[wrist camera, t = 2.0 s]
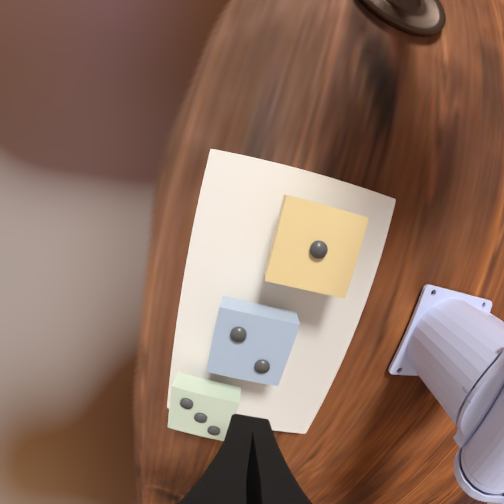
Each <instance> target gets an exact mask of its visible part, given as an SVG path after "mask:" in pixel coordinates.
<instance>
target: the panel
mask: <svg viewBox="0 0 504 504" xmlns="http://www.w3.org/2000/svg"><path fill="white" fill-rule="evenodd" d="M283 195H290V196H293V197H297V198H301V199H305V200H309V201H312V202H316V203H320V204H323V205H327V206H330V207H334V208H337V209H341V210H344V211H348V212H351V213H354V214H358V215H361V216H364V217H368V218H369V220H368V224H367V227H366V231H365V235H364V238H363V242H362V246H361V249H360V252H359V256H358V259H357V263H356V266H355V269H354V272H353V275H352V279H351V282H350V285H349V288H348V291H347V294H346V297H345V298H341V297H336V296H331V295H326V294H322V293H317V292H312V291H308V290H303V289H299V288H294V287H290V286H285V285H281V284H276V283H272V282H268V281H265V276H264V271H265V267H266V263H267V259H268V255H269V251H270V248H271V244H272V240H273V236H274V232H275V228H276V224H277V220H278V216H279V211H280V207H281V203H282V199H283ZM395 202H396V199H394V198H391V197H388V196H385V195H383V194H380V193H377V192H374V191H371V190H368V189H365V188H362V187H359V186H356V185H353V184H350V183H346V182H343V181H340V180H337V179H333V178H330V177H327V176H323V175H320V174H316V173H313V172H309V171H305V170H302V169H298V168H294V167H290V166H286V165H283V164H279V163H274V162H270V161H266V160H262V159H258V158H253V157H249V156H244V155H239V154H235V153H230V152H225V151H220V150H215V149H210V153H209V157H208V161H207V166H206V170H205V174H204V178H203V183H202V187H201V192H200V196H199V201H198V205H197V210H196V215H195V220H194V225H193V230H192V235H191V240H190V245H189V251H188V256H187V262H186V267H185V273H184V279H183V285H182V291H181V297H180V304H179V310H178V317H177V324H176V331H175V339H174V346H173V354H172V363H171V372H170V381H169V391H168V402H167V408H169V407H170V397H171V387H172V384H173V382H174V379H175V377H176V375H177V373H178V372H180V373H184V374H188V375H191V376H195V377H199V378H203V379H207V380H211V381H215V382H220V383H224V384H229V385H233V386H238V387H241V392H240V402H239V406H238V409H237V412H236V414H240V415H246V416H252V417H258V418H264V419H268V420H269V422H270V425H271V428H272V430H274V431H283V432H292V433H303V434H306V432H307V431H308V429H309V427H310V425H311V423H312V422H313V420H314V418H315V416H316V414H317V412H318V410H319V408H320V406H321V404H322V403H323V401H324V399H325V397H326V395H327V393H328V391H329V388H330V386H331V384H332V382H333V380H334V378H335V376H336V374H337V372H338V369H339V367H340V365H341V363H342V360H343V358H344V356H345V354H346V351H347V349H348V347H349V344H350V342H351V339H352V337H353V334H354V332H355V329H356V327H357V324H358V322H359V319H360V317H361V314H362V311H363V309H364V306H365V303H366V300H367V298H368V295H369V292H370V289H371V286H372V283H373V280H374V277H375V274H376V271H377V268H378V264H379V261H380V258H381V255H382V251H383V248H384V244H385V241H386V237H387V234H388V230H389V226H390V222H391V218H392V214H393V210H394V206H395ZM223 296H226V297H231V298H235V299H239V300H243V301H248V302H252V303H257V304H261V305H266V306H270V307H275V308H279V309H284V310H289V311H294V312H297V316H298V319H299V322H300V326H299V329H298V332H297V335H296V338H295V341H294V344H293V347H292V350H291V352H290V355H289V358H288V361H287V363H286V366H285V369H284V372H283V374H282V377H281V380H280V382H279V385H278V386H274V385H268V384H262V383H257V382H251V381H246V380H241V379H237V378H232V377H227V376H223V375H218V374H214V373H210V372H206V369H207V364H208V359H209V354H210V349H211V344H212V339H213V334H214V329H215V325H216V320H217V315H218V310H219V306H220V303H221V300H222V298H223Z"/></svg>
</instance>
